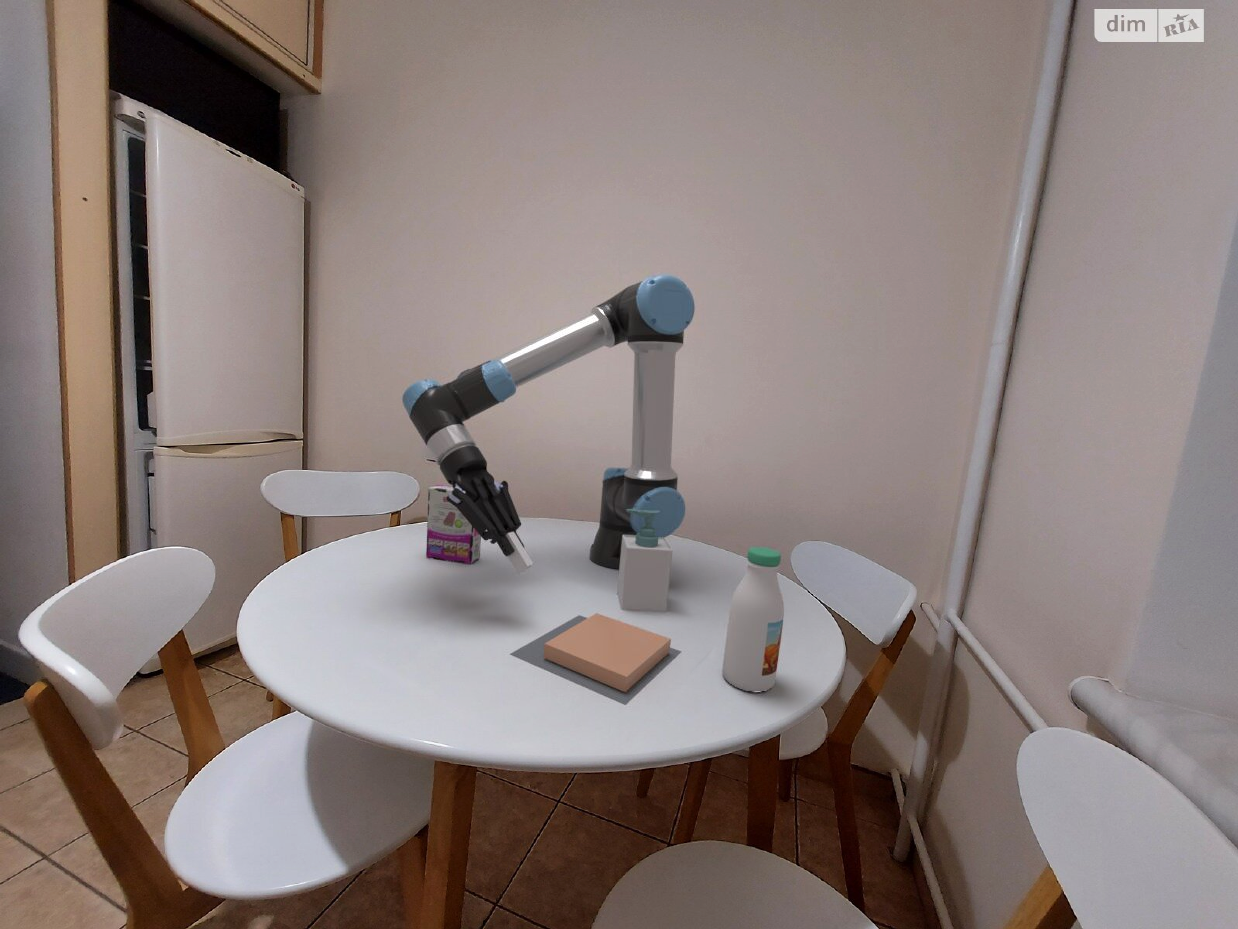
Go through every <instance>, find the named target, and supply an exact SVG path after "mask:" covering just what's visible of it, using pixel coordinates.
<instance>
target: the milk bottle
mask: <svg viewBox="0 0 1238 929" xmlns="http://www.w3.org/2000/svg"><path fill="white" fill-rule="evenodd" d="M746 558H747V559H746V560H747V561H746V565H747V569H746V571H745V573H744V575H743V578H742V579H741V581H740V582H739V584H738V586H737V587H736V589H735V591H734V593H733V595H732V597H731V598H732V600H731V603H730V609H729V615H728V622H727V629H726V637H725V642H724V644H725V646H724V653H723V661H722V662H723V663H722V668H721V669H722V671H721V672H722V676H723V678H724V680H725V679H726V680H727V681H728V682H729V683H728V682H727V681H726V680H725V681H726V682H727V683H728V684H729V685H731V684H732V685H731V686H733V685H734V686H735V688H736V687H737V689H738V688H741V689H743V690H742V691H744V690H747V691H746V692H748V691H765V690H768V689H770V688H771V689H772V688H773V687H774V685H775V683H776V677H777V670H778V664H779V656H780V650H781V649H780V648H781V642H782V633H783V625H784V615H785V605H784V598H783V595H782V592H781V589H780V585H779V581H778V570H779V569H780V564H781V553H780V552H779V551H777V550H775V549H772V548H769V547H762V546H752V547H750V548H749V549H748V550H747V556H746ZM734 686H733V687H734ZM741 689H740V690H741ZM771 689H770V690H771ZM768 691H769V690H768Z"/></svg>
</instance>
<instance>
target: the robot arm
mask: <svg viewBox="0 0 1238 929" xmlns="http://www.w3.org/2000/svg"><path fill="white" fill-rule="evenodd" d="M695 310H696V307H695V300H694V296H693V294H692V292H691V290H690V288H689V287H688V286H687V284H686V283H684V281H683V280H682V279H680V278H679V277H677V276H674V275H672V274H666V273H665V274H658V275H652V276H648V277H647V278H645V279H643V280H641V281H639V282H637V283H635V284H632V285H629V286H627V287H625V288H624V289H622V290H621V291H619V292H618V293H616V294H615V295H614V296H612V297H610V298H609V299H607V300H605V301H603V302H602V303H600V304H598V305H596V306H593V307H592V308H591V311H590V313H589V314H587V315H585V316H583V317H581V318H579V319H577V320H573V321H572V322H569V323H568V324H566V325H563V326H560V327H559V328H557V329H554V330H552V331H550V332H549V333H546V334H544V335H542V336H539V337H537V338H535V339H533V340H531V341H530V340H529V341H528V342H526V343H524V344H521V345H520V346H518V347H515V348H513V349H511V350H508V351H506V352H504V353H502V354H500V355H498V356H496V357H494V358H492V359H489V360H488V361H486V362H483V363H481V364H479V365H476V366H474V367H471V368H467V369H466V370H463V371H462V372H460V374H458V376H457V377H456V378H455V379H453V380H452V381H449V382H447V383H444V384H439V381H436V380H434V379H430V378H428V379H424V380H418V381H416V382H413V383H412V384H410V385H409V386H408V387H407V388H406V389H405V390H404V392H403V394H402V398H401V400H402V404H403V407H404V409H405V410H406V413H407V414H408V417H409V419H410V421H411V422H412V424H413V425H414V427H415V429H416V430H417V433H418V434H419V436H420V437H421V438H422V440H423V442H424V444H425V445H426V447H427V449H428V450H429V453H430V454H431V456H432V457H433V460H434V461H435V462H436V464H437V465H438V466H439V470H440V472H441V474H442V475H443V477H444V478H445V480H446V482H447V483H448V484H449V485H450V486H452V487H453V489H454V490H453V491H452V492H451V493H450V494H449V495H448V496H447V497H446V499H447V501H448V502H450V503H451V504H453V505H454V506H455V507H457V509H458V510H459V511H460V512H461V513H462V514H463V516H464V517H465V518H466V519H467V520H468V522H469V523H470V524H471V525H472V526H473V527H474V529H475V530H476V531H477V532H478V533H479V535H480V536H481V539H483V540H484V541H485V542H487V541H488V540H490V541H489V543H491V544H492V545H495V544H496V543H497V545H498V547H499V549H500V550H501V551H502V554H503V555H504V556H505V557H507V558H508V560H509V562H510V563H511V566H512V567H513V569H514V570H515V572H516V573H517V575H520V574H523V573H525V572H526V571H527V570H528V569H529V568H530V567H532V566H533V565H534V562H533V561H532V559H531V558H530V556H529V554H528V552H527V551H526V550H525V544H524V543H523V542H522V540H521V538H520V536H519V535H518V533H517V530H518V529H519V528H520V527H521V526H522V522H521V520H520V517H519V514H518V511H517V509H516V506H515V504H514V502H513V498H512V496H511V494H510V491H509V483H508V481H506V480H502V481H501V482H499V481H498V480H495V478H494V476H493V475H492V474H491V473H490V472H489V471H488V468H487V467H488V462H487V460H486V458H485V456H484V455H483V453H482V452H481V450H480V448H479V447H478V446H477V445H476V444H477V443H476V441H475V439H474V438H473V437H472V435H471V433H470V432H469V430H468V429H467V427H466V426H465V424H464V422H466V421H467V420H470V419H471V418H473V417H475V416H477V415H479V414H481V413H482V412H484V411H485V412H486V411H487V410H488V409H491V408H493V407H495V406H496V405H499V404H500V403H505V401H506V400H508V399H509V398H511V397H512V396H514V395H515V394H516V393H517V388H518V387H520V386H523V385H524V384H526V383H529V382H531V381H534V380H535V379H537V378H540V377H542V376H544V375H546V374H548V373H550V372H552V371H555V370H557V369H558V368H560V367H563V366H565V365H567V364H569V363H572V362H573V361H576V360H577V359H579V358H582V357H584V356H586V355H588V354H590V353H592V352H594V351H596V350H598V349H601V348H604V347H607V348H610V349H611V348H613V347H615V346H617V345H620V344H622V343H626V342H627V346H628V347H629V348H630V349H631V350H632V352H633V353H634V355H633V356H634V360H633V391H632V392H633V393H632V395H633V396H632V397H633V398H632V427H631V428H632V433H631V434H632V435H631V463H630V467H608V468H606V469H605V470H604V473H603V479H602V481H601V482H602V488H601V489H602V490H601V501H600V512H599V514H600V515H599V524H598V525H599V526H598V530H597V531H596V535H595V537H594V540H593V543H592V544H591V546H590V549H589V559H590V560H591V561H592V562H593V563H595V564H597V565H599V566H602V567H606V568H609V569H610V568H611V569H615V570H617V569H618V570H619V567H620V556H621V546H622V536H623V535H636V534H637V533H640V529H641V527H644V526H645V524H646V523H645V521H644V518H645V517H642V516H638V515H636V514H634V513H629V512H627V509H636V510H647V511H656V510H658V511H660V513H659V514H654V520H653V523H652V524H651V527H653V528H655V534H656V535H657V536H658V537H665V538H667V537H669V536H670V535H672V534H673V533H674V532H675V531H676V530H677V529H678V528H679V527H680V526H681V525H682V523H683V521H684V518H685V515H686V502H685V500H684V497H683V496H682V494H681V493H680V492H679V491H678V482H679V481H678V479H679V478H678V476H679V475H678V473H677V472H676V471H675V470H674V468H672V452H673V451H672V450H673V449H672V448H673V426H674V425H673V423H674V422H673V421H674V401H675V400H674V398H675V376H676V375H675V374H676V372H675V370H676V354H677V352H679V351H680V350H681V348H683V346H684V337H685V336H684V335H685V330H686V329H688V327H689V326H690V324H691V322H692V321H693V318H694V315H695Z"/></svg>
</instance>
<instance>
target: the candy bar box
mask: <svg viewBox="0 0 1238 929" xmlns="http://www.w3.org/2000/svg"><path fill="white" fill-rule="evenodd" d="M453 490H454V489H453V487H452V485H443V484H438V485H434V486H430V487H428V492H427V493H428V495H427V498H428V499H427V505H428V506H427V520H426V521H427V523H426V524H427V526H426V527H427V528H426V530H427V531H426V550H425V553H426V555H425V558H426V559H430V558H433V559H432V560H440V561H446V562H450V563H451V562H452V563H459V564H466V565H472V564H474V563H475V562H476V561H479V559H481V543H482V542H481V540H482V537H481V536H480V535H479V533H478V532H477V531H476V530H475V529H474V527H473V526H472V525H471V524H470V523H469V522H468V520H467V519H466V518H465V517H464V516H463V514H462V513H461V512H460V511H459V510H458V509H457V507H455V506H454V505H453V504H451V503H450V502H448V501H447V499H446V497H447V496H448V495H449V494H450V493H451V492H452V491H453Z"/></svg>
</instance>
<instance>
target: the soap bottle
mask: <svg viewBox="0 0 1238 929" xmlns="http://www.w3.org/2000/svg"><path fill="white" fill-rule="evenodd" d="M627 512H629V513H634V514H636V515H638V516H642V517H645V518H644V521H645V523H646V524H645V526H644V527H641V529H640V533H637V534H636V535H623V536H622V546H621V556H620V567H619V569H618V581H617V591H616V592H617V593H616V595H617V597H618V603H619V607H620V610H624V611H643V612H644V611H645V612H665V613H666V612H667V604H668V595H669V590H670V588H669V586H670V580H671V579H670V578H671V577H670V576H671V570H672V569H671V568H672V562H673V561H672V557H673V548H672V547H671V546H670V544H669V542H668V541H667V539H666V537H658V536H657V535H656V534H655V528H653V527H651V524H652V523H653V520H654V514H659V513H660V511H658V510H656V511H647V510H636V509H627Z"/></svg>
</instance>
